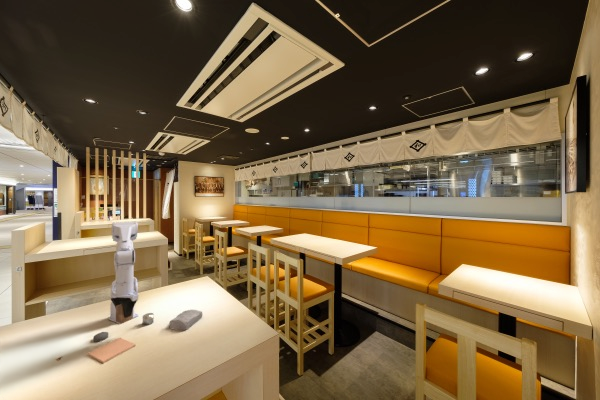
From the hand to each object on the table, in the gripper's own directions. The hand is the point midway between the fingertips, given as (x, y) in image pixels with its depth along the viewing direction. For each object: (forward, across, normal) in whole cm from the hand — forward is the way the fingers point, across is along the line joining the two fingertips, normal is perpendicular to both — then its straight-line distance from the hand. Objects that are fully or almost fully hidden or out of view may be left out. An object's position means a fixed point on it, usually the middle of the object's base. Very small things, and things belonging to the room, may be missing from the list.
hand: (124, 315), depth 91 cm
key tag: (+9, -8, -16) cm, 20 cm away
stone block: (+9, +12, +18) cm, 24 cm away
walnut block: (+2, 0, 0) cm, 2 cm away
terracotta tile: (+9, +5, -6) cm, 12 cm away
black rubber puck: (+9, -7, -4) cm, 12 cm away
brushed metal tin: (+8, -2, +11) cm, 14 cm away
